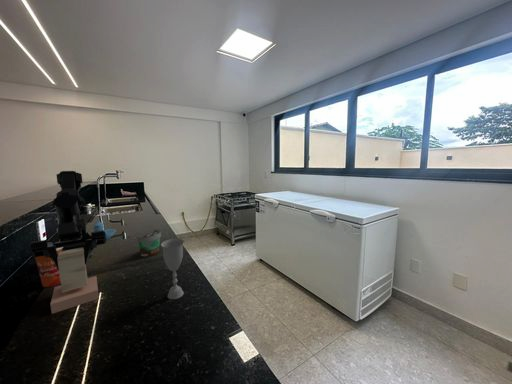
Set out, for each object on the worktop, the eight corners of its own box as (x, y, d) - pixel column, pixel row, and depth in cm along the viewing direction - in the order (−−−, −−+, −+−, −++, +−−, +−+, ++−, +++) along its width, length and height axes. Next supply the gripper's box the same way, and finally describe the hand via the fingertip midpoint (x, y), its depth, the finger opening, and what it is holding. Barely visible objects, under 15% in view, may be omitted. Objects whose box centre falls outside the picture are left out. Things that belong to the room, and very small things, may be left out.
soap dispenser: (119, 238, 121) (118, 223, 120) (98, 244, 113) (96, 228, 112) (107, 232, 132) (106, 218, 131) (87, 237, 124) (85, 222, 122)
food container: (151, 260, 95) (149, 238, 94) (139, 258, 96) (137, 237, 95) (167, 249, 107) (166, 229, 106) (156, 248, 108) (155, 229, 107)
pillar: (63, 283, 69) (59, 251, 68) (87, 277, 73) (83, 247, 71) (62, 292, 65) (57, 258, 63) (87, 285, 68) (83, 253, 67)
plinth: (51, 313, 62) (50, 304, 61) (55, 295, 70) (54, 286, 70) (98, 298, 69) (97, 290, 68) (97, 283, 77) (96, 275, 77)
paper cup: (34, 291, 72) (27, 252, 70) (43, 280, 79) (37, 244, 77) (63, 285, 76) (58, 248, 74) (70, 275, 83) (65, 240, 81)
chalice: (168, 288, 74) (165, 239, 72) (188, 287, 75) (186, 238, 72) (161, 302, 67) (157, 247, 64) (183, 301, 68) (180, 247, 65)
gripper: (24, 216, 63) (22, 266, 56) (102, 208, 74) (108, 248, 67) (33, 234, 70) (32, 280, 63) (103, 224, 81) (108, 262, 75)
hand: (72, 267), depth 67 cm, fingers closed on pillar, 6 cm apart
